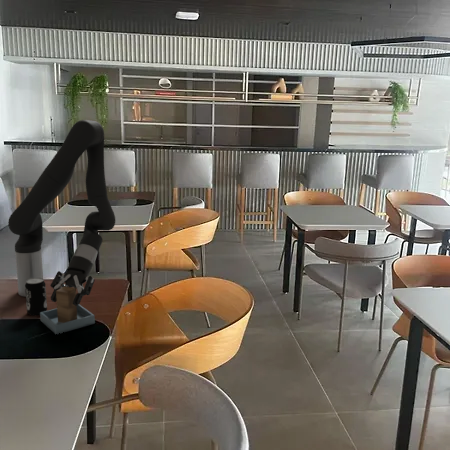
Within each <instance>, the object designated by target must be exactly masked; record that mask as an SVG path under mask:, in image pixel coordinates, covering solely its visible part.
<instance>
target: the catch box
mask: <svg viewBox="0 0 450 450" xmlns="http://www.w3.org/2000/svg"><path fill="white" fill-rule="evenodd" d="M39 317H40V319H39V320H40V322H42V324H43V325H44V326H46V327H47V328H48V329H49V330H50V332H51V331H52V333H53V334H55V335H56V334H57V335H60V334H63V332H64V333H66V332H71V331H74V330H78V329H80V328H85V327H87V326H90V325H94V324H95V323H96V321H95V320H96V319H95V314H93V313H92V312H91V311H89V310H88V309H87V308H85V307H84V306H82V305H81V304H79V305H78V306H77V319H76V320H72V321H69V322H65V323H61V322H58V314H57V307H56V308H53V309H47V311H44V312H40V315H39ZM59 333H60V334H59Z"/></svg>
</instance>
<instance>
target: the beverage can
mask: <svg viewBox="0 0 450 450" xmlns="http://www.w3.org/2000/svg"><path fill="white" fill-rule="evenodd" d="M25 292H26V297H25V302H26V304H25V305H26V312H27V314H28V315H30V316H33V317H34V316H35V317H36V316H40V312H44V311H48V303H47V301H48V300H47V299H48V298H47V286H46V282H45V279H44V277H43V278H30V279H28V280H26V284H25Z"/></svg>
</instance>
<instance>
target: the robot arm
mask: <svg viewBox="0 0 450 450" xmlns="http://www.w3.org/2000/svg"><path fill="white" fill-rule="evenodd" d="M104 130H105V129H104V128H103V126H102V125H101V123H100V122H99V121H96V120H91V119H81V120H78V121H76V122H75V123H74V124H73V125H72V126H71V128H70V130H69V131H68V134H67V135H66V137H65V139H64V141H63V143H62V145H61V146H60V148H59V149H58V151H57V152H56V153H55V155H54V156H53V157H52V159H51V161H50V162H49V163H48V164H47V166H46V167H45V169H43V171H42V172H41V174H40V176H39V177H38V179H37V181H35V183H34V185H33V186H32V188H31V189H30V191H29V193H28V194H27V195H26V196H25V198H24V199H23V200H22V201H21V203H20V204H19V205H18V206H17V207H16V209H14V211H13V212H12V213H11V214H10V216H9V219H8V221H7V222H8V223H7V224H8V228H9V230H10V232H11V233H12V234H14V235H18V239H17V240H16V242H15V244H14V252H15V253H14V254H15V255H14V257H15V264H16V266H15V267H16V276H17V279H16V280H17V289H18V290H17V291H18V292H17V293H18V295H19V296H21V297H25V298H26V292H25V284H26V280H28V279H30V278H43V279H44V269H43V255H42V244H43V239H44V238H43V237H44V233H43V231H44V230H43V229H44V228H43V227H44V226H43V225H44V224H43V217H42V215H41V213H42V212H43V210H44V209H45V208H46V207H47V206H48V205H49V204H51V203H52V202H53V201H54V200H55V199H57V198H58V197H59V196H60V194H62V192H63V191H64V190H65V189H66V187H67V185H68V184H69V183H70V181H71V180H72V177H73V175H74V171H75V167H76V164H77V162H78V160H79V159H80V158H81V157H82V155H83V154H84V153H85V152H86V155H87V166H86V174H85V190H86V195H87V196H86V197H87V202H88V204H89V205H90V206H93V207H95V208H96V209H97V211H91V212H90V213H88V215H87V216H86V218H85V221H84V227H83V235H82V237H81V240H80V242H79V243H78V246H77V247H76V249H75V250H74V253H73V255H72V257H71V259H70V262H69V264H68V266H67V271H65V273H63V272H61V271H60V270H59V271H57V272H56V274H55V276H54V278H53V280H52V282H51V283H50V287H51V288H52V289H53V292H52V294H51V296H50V301H51V302H53V303H57V298H56V291H57V290H59V289H61V288H63V287H71V288H76V290H77V292H76V296H75V298H74V301H73V305H75V306H78V305H79V304H80V303H81V301H82V299H83V297H84V296H90V294H91V292H92V289H93V287H94V283H95V278H94V277H92V275H90V274H91V271H92V269H93V266H94V264H95V262H96V259H97V256H98V253H99V251H100V248H101V246H102V244H103V237H102V236H101V235H100V234H99V233H98V232H99V231H111V230H113V228H114V227H115V225H116V216H115V212H114V210H113V207H112V205H111V203H110V200H109V197H108V191H107V189H108V188H107V182H106V174H105V131H104ZM83 284H85V286H84V285H83ZM80 305H81V304H80Z"/></svg>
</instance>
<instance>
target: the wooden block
mask: <svg viewBox="0 0 450 450" xmlns="http://www.w3.org/2000/svg"><path fill="white" fill-rule="evenodd" d="M76 290H77V288H74V287H63V288H61V289H59V290H57V291H56V298H57V301H56V308H57V314H58V322H61V323H65V322H69V321H72V320H76V319H77V306H75V305H73V301H74V298H75V296H76V294H77V291H76Z"/></svg>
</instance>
